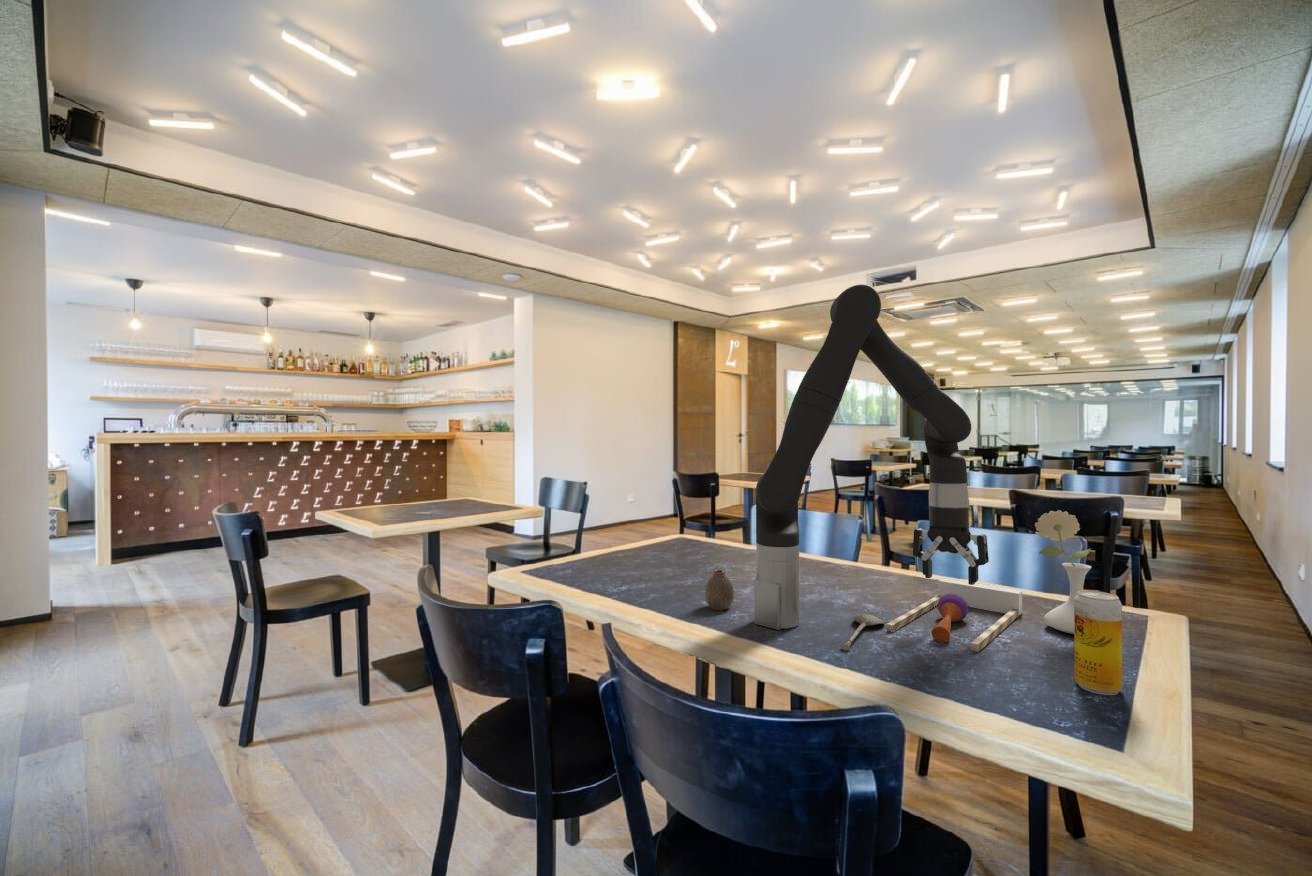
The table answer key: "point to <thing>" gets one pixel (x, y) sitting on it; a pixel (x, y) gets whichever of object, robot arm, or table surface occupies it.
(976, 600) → the end stop
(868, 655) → the table surface
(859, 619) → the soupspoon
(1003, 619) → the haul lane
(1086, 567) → the flower in vase
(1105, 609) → the beer can
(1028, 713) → the table surface
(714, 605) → the vase
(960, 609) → the kendama
